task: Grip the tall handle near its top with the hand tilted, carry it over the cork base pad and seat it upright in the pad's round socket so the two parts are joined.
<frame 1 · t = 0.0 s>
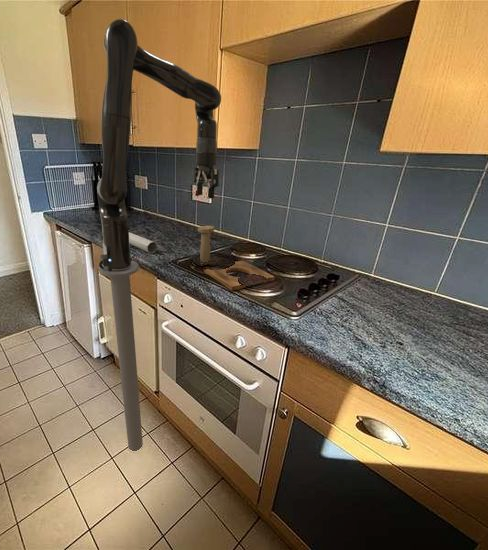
hand: (205, 196, 116), 25 cm above the table, tool pointing down, fingers open, 8 cm apart
handle: (204, 265, 119), on the table
base pad: (237, 276, 109), on the table
tube: (137, 246, 139), on the table
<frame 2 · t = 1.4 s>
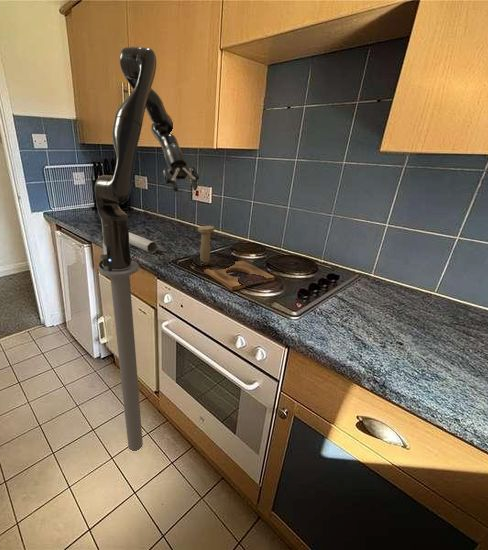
hand: (186, 189, 121), 27 cm above the table, tool tilted 45°, fingers open, 8 cm apart
nothing on the table moved.
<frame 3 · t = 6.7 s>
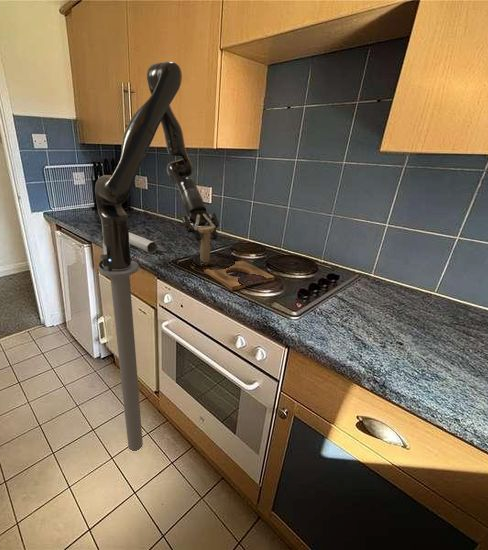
hand: (207, 239, 113), 11 cm above the table, tool tilted 45°, fingers closed on handle, 6 cm apart
handle: (204, 265, 119), on the table, touching gripper
everything else where it was.
when the fingers open (11 cm above the table, at t = 17.0 s): handle stays where it is, resting in base pad.
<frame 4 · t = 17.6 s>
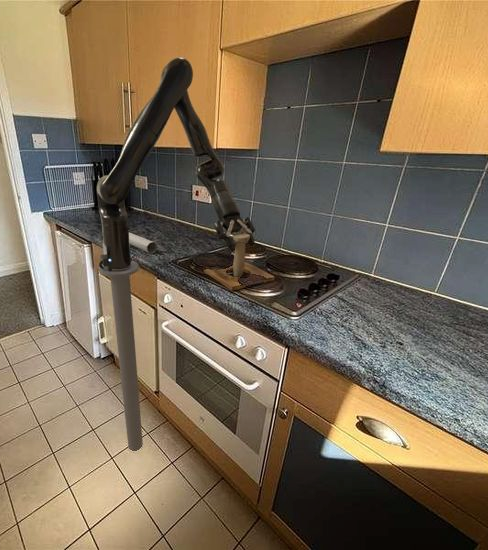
hand: (242, 246, 103), 12 cm above the table, tool tilted 45°, fingers open, 8 cm apart
handle: (237, 276, 109), resting in base pad
everything else where it was.
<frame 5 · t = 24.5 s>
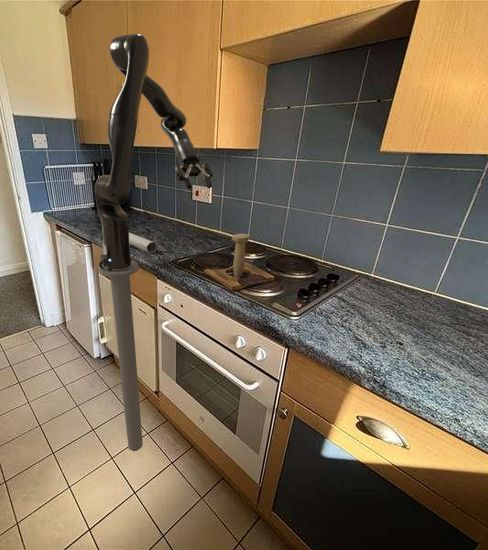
hand: (200, 187, 113), 29 cm above the table, tool tilted 45°, fingers open, 8 cm apart
nothing on the table moved.
at the end: handle 0.1 cm off-centre in the base pad, point 0.0 cm above the base pad's base; handle tilted 0°; the gripper is holding nothing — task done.
